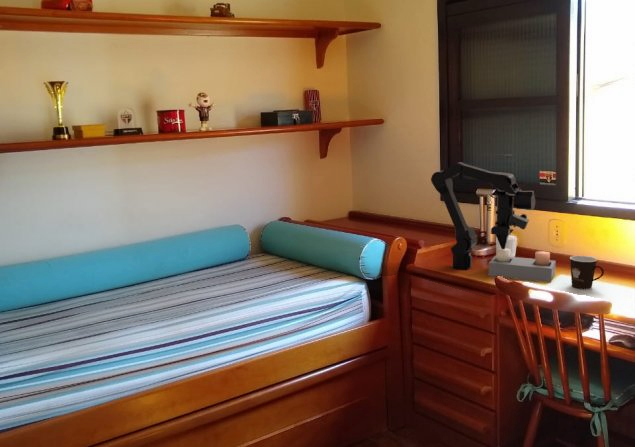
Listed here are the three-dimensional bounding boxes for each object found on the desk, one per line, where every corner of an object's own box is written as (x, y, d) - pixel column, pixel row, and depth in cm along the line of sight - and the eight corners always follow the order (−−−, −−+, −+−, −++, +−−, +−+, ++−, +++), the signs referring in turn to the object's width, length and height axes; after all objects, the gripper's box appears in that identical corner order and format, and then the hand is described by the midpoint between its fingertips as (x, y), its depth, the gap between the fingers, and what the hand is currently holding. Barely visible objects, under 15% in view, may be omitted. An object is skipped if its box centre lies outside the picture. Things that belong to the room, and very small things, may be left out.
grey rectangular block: (488, 275, 237) (488, 262, 236) (494, 267, 248) (495, 255, 247) (551, 282, 227) (551, 268, 226) (554, 273, 238) (555, 260, 237)
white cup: (515, 259, 260) (516, 235, 258) (516, 264, 253) (517, 239, 251) (495, 258, 262) (495, 234, 260) (495, 263, 254) (496, 238, 252)
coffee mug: (563, 283, 225) (565, 256, 223) (587, 282, 226) (589, 255, 224) (580, 293, 214) (581, 264, 212) (604, 292, 215) (606, 263, 213)
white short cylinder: (494, 261, 239) (495, 250, 238) (497, 258, 243) (497, 247, 242) (508, 263, 236) (509, 251, 236) (510, 260, 241) (511, 248, 240)
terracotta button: (534, 265, 232) (534, 253, 232) (535, 262, 237) (536, 250, 236) (548, 266, 230) (549, 255, 229) (550, 263, 235) (550, 252, 234)
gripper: (523, 213, 224) (521, 256, 227) (531, 205, 240) (529, 245, 243) (491, 211, 229) (489, 253, 232) (501, 203, 245) (499, 243, 248)
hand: (503, 248), depth 239 cm, fingers closed
